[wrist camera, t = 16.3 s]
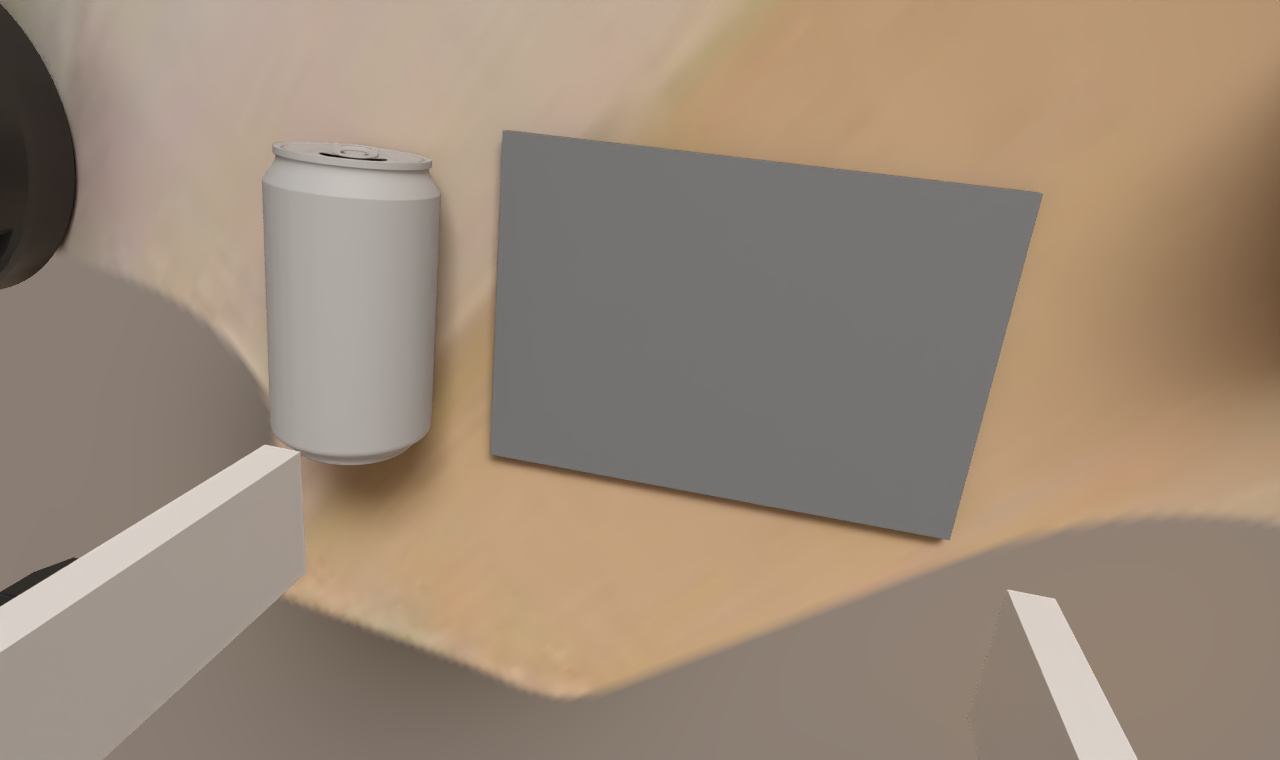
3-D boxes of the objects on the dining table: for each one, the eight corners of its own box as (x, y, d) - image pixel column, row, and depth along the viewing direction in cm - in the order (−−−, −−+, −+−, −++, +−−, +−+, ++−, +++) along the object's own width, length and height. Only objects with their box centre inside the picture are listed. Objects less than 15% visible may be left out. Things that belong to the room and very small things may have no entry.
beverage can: (260, 474, 30) (246, 147, 26) (282, 408, 35) (273, 132, 31) (434, 472, 32) (446, 167, 28) (428, 409, 37) (438, 149, 33)
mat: (495, 449, 36) (489, 454, 35) (508, 130, 31) (502, 130, 31) (947, 533, 33) (949, 540, 32) (1038, 192, 28) (1042, 194, 27)
